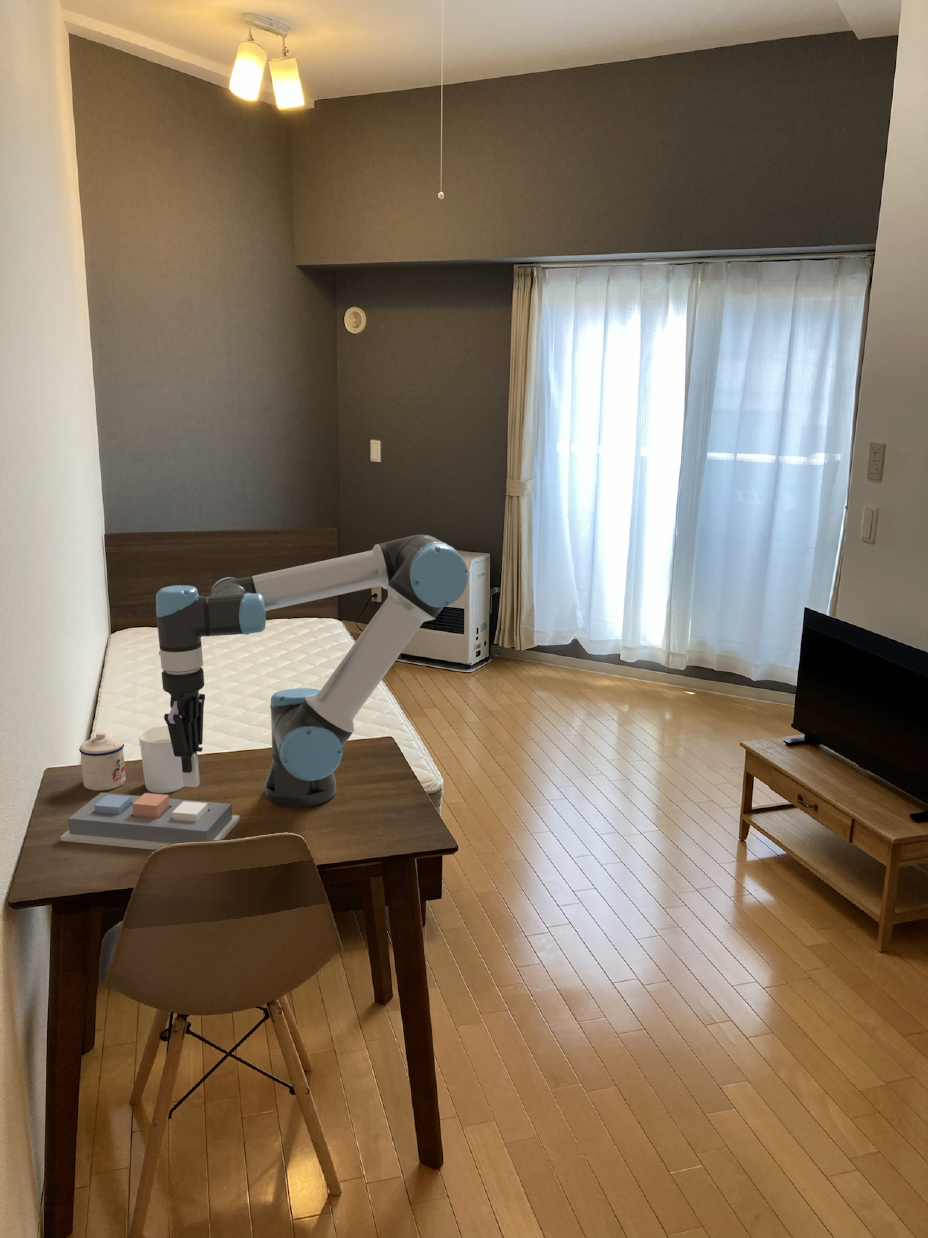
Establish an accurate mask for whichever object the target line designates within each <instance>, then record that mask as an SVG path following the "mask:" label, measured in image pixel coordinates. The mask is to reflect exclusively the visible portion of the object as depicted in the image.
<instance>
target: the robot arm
mask: <svg viewBox="0 0 928 1238" xmlns="http://www.w3.org/2000/svg"><path fill="white" fill-rule="evenodd" d="M468 571H469V570H468V566H467V564H466V561H465V560H464V558H463V557H462V555H461V554H460V552H458V551H457V550H456V549H455V547H453V546H451V545H449V544H448V543H445V542H443V541H441V540H440V539H438V538H437V537H435V536H432V535H430V534H429V535H428V534H416V535H410V536H406V537H402V538H398V539H394V540H389V541H386V542H385V541H384V542H382V543H376V544H374V546H373V548H372V549H371V550H367V551H363V552H359V553H354V554H349V555H344V556H340V557H339V556H338V557H335V558H330V559H326V560H321V561H317V562H316V561H315V562H311V563H306V564H303V565H297V566H292V567H289V568H284V569H280V570H279V569H278V570H275V571H269V572H265V573H259V574H256V575H252V576H247V577H246V576H245V577H241V578H236V577H229V576H228V577H224V578H221V579H219V580H217V581H216V582H215V583H214V584H213V586H212V588H211V591H210V594H209V596H203V595H201V596H200V593H198V592H199V591H198V589H197V587H195V586H193V585H181V584H180V585H179V584H178V585H177V584H176V585H170V586H165V587H163V588H160V589H159V590H158V591H156V592H157V593H156V595H155V603H156V604H155V608H156V609H155V611H156V612H155V614H156V624H157V633H158V634H157V635H158V644H159V651H158V655H159V656H160V666H161V667H160V668H161V669H162V672H161V681H162V682H161V683H162V690H163V691H164V692H165V693H168V694H169V695H170V702H169V707H170V708H171V709H170V711H169V713H164V715H163V718H164V721H165V724H166V726H168V730H169V734H170V739H171V743H172V748H173V752H174V756H176V757H181V765H182V778H183V786H184V787H189V788H197V787H199V785H200V781H201V780H200V769H199V759H198V757H199V756H198V753H201V752H202V751H203V747H200V746H201V745H203V739H204V738H203V734H204V733H203V731H204V709H205V708H204V706H205V700H206V694H205V693H199V692H200V690H202V689H203V688H204V686H205V677H204V675H205V674H204V673H205V672H204V668H202V667H203V666H204V660H203V647H202V637H206V638H207V637H219V636H220V637H221V636H235V635H251V634H256V633H257V634H258V633H262V632H264V631H265V629H266V626H267V624H266V623H267V621H266V620H267V618H266V612H267V611H272V610H276V609H280V608H285V607H290V606H294V605H300V604H303V603H308V602H312V601H317V600H321V599H325V598H331V597H335V596H339V595H345V594H348V593H353V592H358V591H364V590H368V589H371V588H375V587H376V588H377V587H381V588H383V589H384V590H387V598H386V599H385V601H384V602H383V603H382V605H381V606H380V608H379V609H378V610H377V612H375V614H374V616H373V617H372V618H371V620H370V621H369V623H368V624H367V625H366V627H365V628H364V630H363V631H362V632H361V634H359V637H358V638H356V641H354V643H353V645H352V646H351V647H350V648H349V650H348V651H347V652H346V654H345V656H344V657H343V659H342V660H341V661H340V663H339V664H338V666H337V667H336V668H335V669H334V670H333V673H332V674H331V675H330V676H329V678H328V680H327V681H326V682H325V684H324V685H323V686H322V688H321V689H317V688H310V687H309V688H308V687H304V688H303V687H300V688H289V689H283V690H280V691H279V690H278V691H276V692H275V693H273V694H272V695H271V697H270V705H269V709H270V718H271V719H270V721H271V725H270V726H271V752H272V755H271V756H272V758H271V759H272V760H271V761H272V762H271V765H270V767H269V770H268V774H267V777H266V780H265V784H264V794H265V798H266V800H268V802H270V803H272V804H274V805H277V806H281V807H286V808H306V807H307V808H308V807H313V806H317V805H321V804H323V803H325V802H327V801H330V800H331V799H332V798H333V797H334V796H335V795H336V793H337V780H336V777H335V775H334V772H335V771H336V770H337V769H338V767H339V766H340V764H341V761H342V757H343V747H344V746H345V744H346V743H347V742H348V740H349V738H350V737H351V736H352V735H353V733H354V731H355V726H354V725H355V724H354V719H355V717H356V716H357V714H358V713H359V712H360V710H361V709H362V707H363V706H364V705H365V703H366V702H367V701H368V700H369V698H370V697H371V695H372V694H373V692H374V691H375V690H376V689H377V687H378V685H379V684H380V683H381V681H382V680H383V678H384V677H385V676H386V675H387V673H388V672H389V670H390V669H391V668H392V666H393V665H394V663H395V662H396V661H397V660H398V658H399V656H400V655H401V653H402V652H403V650H404V649H405V648H406V647H407V645H408V644H409V643H410V641H411V640H412V638H413V637H414V635H415V634H416V633H417V632H418V630H419V629H420V627H421V626H422V625H423V623H424V622H425V623H426V622H428V621H429V622H430V621H433V620H436V619H437V617H438V616H439V614H440V613H441V611H442V610H443V609H444V608H445V607H448V606H451V605H452V604H454V603H455V602H458V600H459V599H460V598H461V597H462V596H463V594H464V593H465V591H466V589H467V586H468V581H469V573H468ZM184 787H183V788H184Z"/></svg>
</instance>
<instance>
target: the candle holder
mask: <svg viewBox="0 0 928 1238" xmlns="http://www.w3.org/2000/svg"><path fill="white" fill-rule="evenodd" d="M138 741H139V747H140V748H139V749H140V755H141V763H142V769H143V770H142V771H143V778H144V784H145V788H146V790H147V791H149V793H152V794H169V793H172V792H173V793H174V792H177V791H179V790H181V789H183V788H184V786H183V778H182V765H181V757H176V756H174V752H173V748H172V743H171V739H170V734H169V730H168V725H163V726H157V727H150V728H147V729H146V730H143V731H142V732H141V733H139V735H138Z"/></svg>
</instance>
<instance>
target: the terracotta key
mask: <svg viewBox="0 0 928 1238" xmlns="http://www.w3.org/2000/svg"><path fill="white" fill-rule="evenodd" d="M140 796H141V797H140V798H139V799H137V800H136V801H135V802H134V803H133V817H143V818H154V819H159V818H160V817H161V816H162V815H163V814H164V813H165V812H166V811H168V810H169V809H170V807H169V799H170V796H169V794H164V793H152V792H144V793H143V794H142V795H140Z"/></svg>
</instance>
